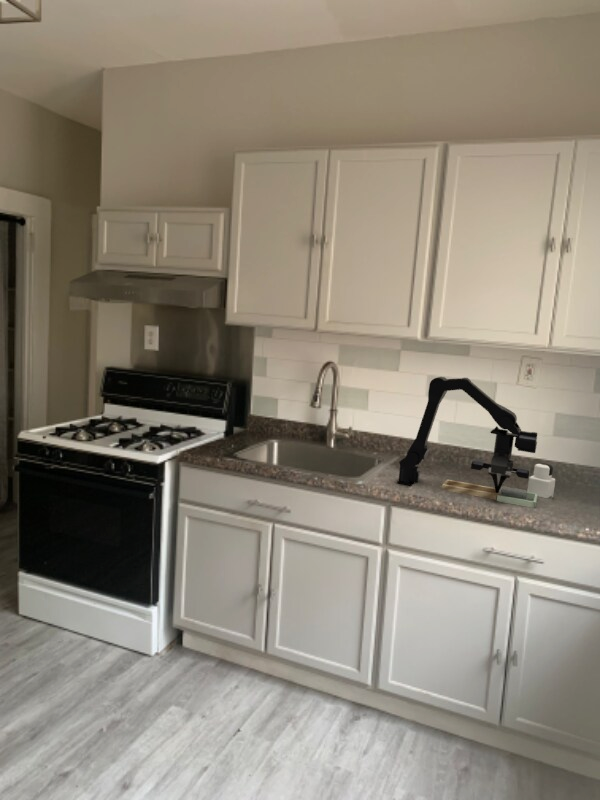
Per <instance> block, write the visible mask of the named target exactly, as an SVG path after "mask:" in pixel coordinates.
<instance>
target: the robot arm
mask: <svg viewBox="0 0 600 800" xmlns="http://www.w3.org/2000/svg"><path fill="white" fill-rule="evenodd" d="M459 390H461V391H463V392H464V393H466V394H467V395H468V396H469V397H470V398H471V399H472V400H474V401H475V402H476V403H477V404H478V405H480V406H481V407H482V408H483V409H484V410H485V411H487V413H488V414H489V416H491V418H492V419H493V421H494V422H495V423H496V425H497V426H495V427H494V428H493V429H492V430H490V432H489V433H491V434H492V435H495V440H494V441H495V442H494V449H493V456H492V458H491V462H490V463H489V462H486V459H481V458H477V457H476V458H474V459H473V460H472V461H471V464H470V465H471V466H470V469H471V470H475V471H481V470H482V469H487V470H488V472H487V474H488V475H490V476H491V477H492V481H493V485H494V488H495V491H496V493H498V492H499V493H500V491H501V488H502V485H503V484H504V482H505V481H506V479H507V478H508V479H510V478H511V477H512V474H516V476H517V478H521V479H528V480H529V477H531V476H530V475H531V468H530V467H528V466H521V465H517V467H514V465H515V461H514V460H511V458H512V452H513V448H514V447H515V448H516V449H517V451H519V452H525V453H530V454H536V451H537V446H538V445H537V444H538V441H537V440H538V432H534V431H523V430H522V428H521V427H520V425H519V424H518V422H517V421H518V420H517V418H518V417H517V414H516V413H515V412H513V411H512V410H510V409H509V408H507V407H506V406H503V405H501V404H500V403H497V402H496V401H494V400H493V398H491V397H490V396H489V394H486V392H484V391H483V390H482V389H481V388H479V387H478V386H477V385H476V384H474V382H472V380H471V379H469V377H462V378H446V377H445V376H438V377H435V378H433V379H432V380H431V381H430V382H429V386H428V392H427V393H428V395H427V396H428V397H427V399H428V400H427V404H426V406H425V409H424V413H423V416H422V417H421V418H422V419H421V422H420V425H419V428H418V431H417V434H416V437H415V439H414V440H413V442H412V444H411V445H410V447H409V449H408V451H407V453H406V454H405V455H406V456H405V457H404V458H402V459H401V460H400V461H399V473H398V480H396V483H397V484H402V485H406V486H413V485H415V483H417V484H418V483H419V482H420V475H421V471H419V470H420V466H419V465H420V464H421V463H422V462H423V461H425V459H427V458H428V457H429V451H430V450H431V447H432V446H430V445H428V442H429V441H428V439H429V437H430V434H431V432H432V429H433V428H432V427H433V425H434V421H435V419H436V416H437V413H438V409H439V407H440V404H441V403H442V401H443V399H444V397H446V394H447V392H449V391H459ZM514 438H515V439H514ZM499 475H500V479H499Z"/></svg>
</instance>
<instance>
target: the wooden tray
mask: <svg viewBox="0 0 600 800" xmlns="http://www.w3.org/2000/svg"><path fill="white" fill-rule="evenodd" d="M441 490H443V491H448V492H454V493H459V494H464V495H470V496H476V497H480V498H486V499H491V500H496V501H497V495H500V491H499V492H498V493H496V491H495V487H492V486H485V485H480V484H475V483H470V482H463V481H459V480H458V481H457V480H451V479H446V480H445V481H444V483H443V484H442V485H441Z"/></svg>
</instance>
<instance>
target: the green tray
mask: <svg viewBox="0 0 600 800" xmlns="http://www.w3.org/2000/svg"><path fill="white" fill-rule="evenodd" d="M538 497H539V496H538V494H535V493H529V492H527V496H526V500H523V499H517V498H512V497H506V496H501V494H498V495H497V498H496V501H497V502H500V503H506V504H512V505H518V506H522V507H528V508H532V509H533V508H534V509H535V508H536V506H537V502H538ZM529 499H530V500H529Z"/></svg>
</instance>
